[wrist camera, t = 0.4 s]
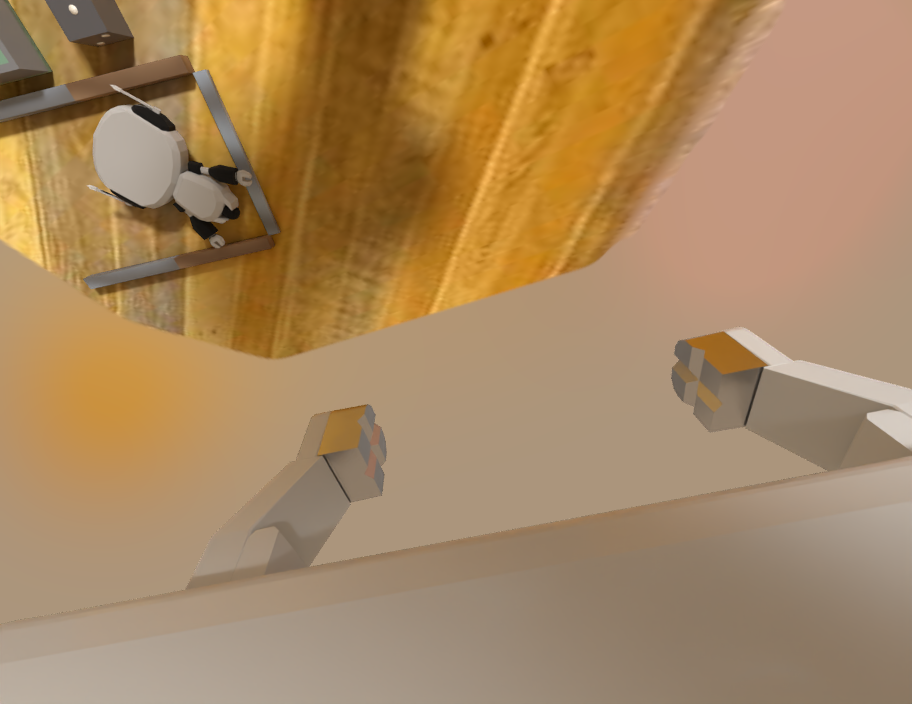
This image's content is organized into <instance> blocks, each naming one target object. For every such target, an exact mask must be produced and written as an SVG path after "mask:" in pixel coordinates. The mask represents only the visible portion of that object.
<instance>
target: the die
mask: <svg viewBox="0 0 912 704" xmlns="http://www.w3.org/2000/svg"><path fill="white" fill-rule="evenodd" d="M45 1H46V3H47V4H48V6H49V8H50V9H51V11H52V13H53V14H54V16H55V18H56V19H57V21H58V23H59V25H60V26H61V28H62V30H63V31H64V33H65V35H66V36H67V38H68V40H69V41H70V42H75V43H80V44H86V45H92V46H97V47H99V46H103V45H107V44H111V43H114V42H118V41H122V40H126V39H130V38H134V37H133V35H132V33H131V31H130V29H129V27H128V25H127V23H126V21H125V20H124V18H123V16H122V14H121V12H120V10H119V8H118V6H117V4H116V2H115V0H45Z"/></svg>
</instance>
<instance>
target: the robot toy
mask: <svg viewBox="0 0 912 704" xmlns="http://www.w3.org/2000/svg"><path fill="white" fill-rule="evenodd" d="M111 86H112V87H113V89H115V90H117V91H119V92H122V93H123V94H125V95H127V96H129V97H131V98H132V99H134V100H136V101H138V102H140V103H142V104H138V105H121V106H117V107H114V108H112V109H110V110H108V111H107V112H106V113H105V115H104V116H103V117H102V119H101V120H100V122H99V124H98V126H97V128H96V131H95V133H94V135H93V159H94V165H95V169H96V171H97V174H98V176H99V178H100V180H101V181H102V182H103V183H104V184H105V185H106V187H108V188H109V189H110V190H111V192H112V193H113V194H115V195H116V196H115V195H112V194H110V193H107V192H105V191H103V190H100V189H98V188H97V187H94V186H92V185H87V186H88V187H89V188H90V189H92V190H94V191H98V192H101V193H103V194H105V195H108V196H110V197H113V198H115V199H117V200H120V201H122V202H125V204H126V205H129V206H131V207H132V206H134V207H139V208H142V209H144V208H146V207H148V208H153V209H155V208H157V207H160V206H162V205H164V204H166V203H168V202H170V201H171V200H173V199H175V201H176V203H174V204H173V205H174V206H175V207H176V208H177V209H178V210H179V211H180V212H185V213H186V214H187V215H188V216H189V217H190V220H191V223H192V226H193V229H194V230H195V231H196V232H197V233H198V234H199V235H200V236H201V237H202V238H203V239H204V240H205V239H207V238H209V241H210V244H211V245H212V246H214V247H215V248H220V247H221V246H223V245H225V241H224V239H223V237H221V236H220V235H218V234H215V233H216V232H217V231H218V229H217V228H216V227H215V226H214V225H213V224H212V223H211V222H210V221H213V222H217V223H221V224H222V223H224V222H226V221H228V220H229V219H237V218H238V217H239V215H240V211H239V209H238V208H237V207H238V206H239V203H238V198H237V197H236V196H235V195H234V194H233V193H232V192H231V191H230V189H229V187H228V185H227V184H232V185H237V184H238V183H240V184H241V185H243V186H250V185H251V184H252V180H251V181H250V180H245V177H246V178H250V179H251V178H252V176H251V174H250V173H249V172H247V171H245V170H240V171H238V168H233V167H228V166H223V165H217V166H213V167H211V168H207V167H203V164H202V163H198V162H194V161H189V162H188V149H187V146H186V143H185V140H184V139H183V137H182V136H181V135H180V134H179V133H178V131H176V129H175V125H174V124H173V123H172V122H171V121H170V120H169V119H168V118H167V117H166V116H165V115H163V114H161V113H160V112H161V110H160V109H158V108H157V107H155V106H154V107H152V106H151V105H149V104H147V103H145V102H143V101H142V100H140V99H138V98H136V97H134V96H133V95H131V94H129V93H127V92H125V91H124V90H122V89H121V88H119V87H117V86H116V85H111ZM187 170H188V171H187ZM226 183H227V184H226Z"/></svg>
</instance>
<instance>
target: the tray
mask: <svg viewBox="0 0 912 704" xmlns="http://www.w3.org/2000/svg"><path fill="white" fill-rule="evenodd" d="M49 72H52V70H51V68H50V67H49V65H48V64H47V62H46V61H45V59H44V57H43V56H42V54H41V53H40V51H39V49H38V48H37V46H36V45H35V43H34V41H33V40H32V38H31V37H30V35H29V34H28V32H27V30H26V29H25V27H24V26H23V24H22V22H21V21H20V19H19V18H18V16H17V14H16V13H15V11H14V10H13V8H12V7H11V5H10V3H9V2H8V0H0V85H3V84H6V83H10V82H14V81H18V80H22V79H26V78H30V77H34V76H38V75H41V74H45V73H49Z"/></svg>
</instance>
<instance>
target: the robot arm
mask: <svg viewBox="0 0 912 704" xmlns="http://www.w3.org/2000/svg"><path fill="white" fill-rule="evenodd" d="M674 354H675V355H676V357H677V358H678V359H679V361H678V362H677V363H676V364H675V365H674V367H673V368H672V377H671V379H672V383H673V387H674V390H675V392H676V393H677V395H678V397H679V398H680V399H681V400H682V401H683V402H684V403H686V404H689V405H692V406H694V413H693V414H694V415H695V416H696V418H697V419H698V420H699V421H700V422H701V423H702V424H703V426H704V427H705V428H706V429H707V430H708V431H709V432H716V431H722V430H727V429H733V428H740V427H746V429H748V430H750V431H752V432H754V433H756V434H758V435H760V436H761V437H763V438H765V439H767V440H769V441H771V442H773V443H775V444H777V445H779V446H781V447H783V448H785V449H787V450H789V451H791V452H792V453H795V454H796V455H798V456H800V457H802V458H804V459H806V460H808V461H810V462H812V463H814V464H816V465H818V466H820V467H822V468H823V469H825V470H827V472H822V473H815V474H810V475H805V476H799V477H794V478H788V479H783V480H778V481H772V482H766V483H761V484H756V485H750V486H745V487H739V488H734V489H729V490H723V491H718V492H712V493H707V494H701V495H696V496H691V497H685V498H680V499H674V500H669V501H664V502H659V503H653V504H648V505H642V506H636V507H631V508H626V509H621V510H615V511H609V512H604V513H598V514H593V515H588V516H582V517H577V518H571V519H566V520H561V521H555V522H550V523H544V524H539V525H534V526H528V527H523V528H517V529H512V530H506V531H501V532H496V533H491V534H485V535H479V536H474V537H468V538H463V539H458V540H452V541H446V542H441V543H436V544H430V545H425V546H419V547H414V548H409V549H403V550H398V551H393V552H387V553H381V554H376V555H371V556H365V557H360V558H354V559H349V560H343V561H339V562H333V563H327V564H322V565H317V566H311V567H309V566H310V565H311V563H312V562H313V560H314V558H315V557H316V556H317V554H318V553H319V551H320V549H321V548H322V547H323V545H324V544H325V542H326V541H327V539H328V537H329V536H330V535H331V533H332V531H333V530H334V529H335V527H336V525H337V524H338V523H339V521H340V520H341V518H342V516H343V515H344V514H345V512H346V511H347V509H348V508H349V506H350V505H351V504H350V503H351V502H355V501H359V500H364V499H369V498H373V497H377V496H382V491H383V482H384V472H383V470H382V468H381V466H382V465H383V464H384V462H385V461H386V441H385V437H384V434H383V431H382V429H381V427H380V426H378V425H376V424H375V423H374V422H375V413H374V411H373V409H372V407H371V406H370V405H368V404H367V405H361V406H357V407H351V408H345V409H340V410H334V411H330V412H324V413H320V414H315V415H314V416H313V417H312V418H311V420H310V423H309V425H308V428H307V431H306V434H305V437H304V439H303V442H302V445H301V448H300V450H299V453H298V456H297V459H296V461H292V462H290V463H289V464H288V465H286V466H285V467H284V468H283V469H282V470H281V471H280V472H279V473H278V474H277V475H276V476H275V477H274V478H273V479H272V480H271V481H270V482H269V483H267V484H266V485H265V486H264V487H263V488H262V489H261V490H260V491H259V492H258V493H257V494H256V495H255V496H254V497H253V498H252V499H251V500H250V501H249V502H247V503H246V504H245V505H244V506H243V507H242V508H241V509H240V510H239V511H238V512H237V513H236V514H235V515H234V516H233V517H232V518H231V519H230V520H229V521H228V522H226V523H225V524H224V525H223V526H222V527H221V528H220V529H219V530H218V531H217V532H216V533H215V534H214V535H213V536H212V537H211V539H210V541H209V543H208V545H207V547H206V549H205V551H204V553H203V555H202V557H201V559H200V561H199V563H198V565H197V567H196V569H195V571H194V573H193V575H192V577H191V579H190V581H189V583H188V585H187V588H186V589H185V590H181V591H176V592H171V593H165V594H160V595H155V596H149V597H143V598H138V599H133V600H127V601H122V602H116V603H111V604H105V605H100V606H95V607H90V608H84V609H78V610H74V611H68V612H62V613H57V614H51V615H45V616H39V617H33V618H26V619H20V620H15V621H11V622H7V623H3V624H0V704H912V389H909V388H905V387H901V386H897V385H894V384H889V383H886V382H882V381H878V380H874V379H871V378H867V377H863V376H859V375H855V374H851V373H848V372H844V371H840V370H836V369H832V368H829V367H825V366H821V365H817V364H813V363H809V362H806V361H802V360H798V361H792V360H791V359H789V358H788V357H787V356H785V355H784V354H782V353H781V352H779V351H778V350H776V349H775V348H774V347H772V346H771V345H769V344H768V343H766V342H765V341H764V340H762V339H761V338H759V337H758V336H756V335H755V334H753V333H752V332H751V331H749V330H748V329H746V328H742V327H737V328H732V329H728V330H723V331H719V332H718V333H713V334H708V335H703V336H698V337H693V338H689V339H684V340H680V341H678V342H677V344H676V346H675V352H674Z"/></svg>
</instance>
